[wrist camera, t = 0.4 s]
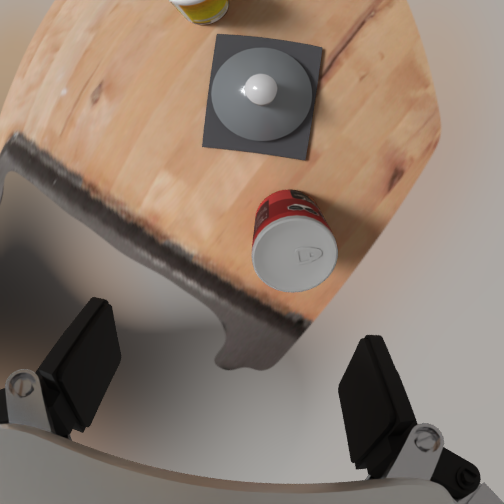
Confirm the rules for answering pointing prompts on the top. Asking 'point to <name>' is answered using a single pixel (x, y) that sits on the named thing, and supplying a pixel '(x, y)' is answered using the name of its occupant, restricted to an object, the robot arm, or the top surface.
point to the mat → (226, 139)
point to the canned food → (292, 242)
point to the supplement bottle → (201, 10)
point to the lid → (261, 94)
